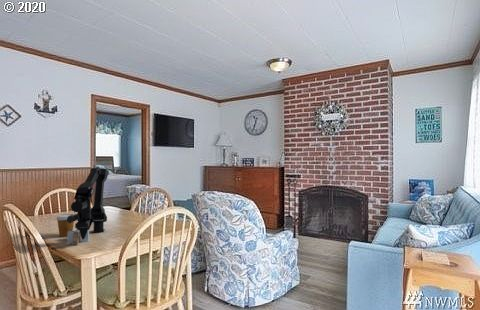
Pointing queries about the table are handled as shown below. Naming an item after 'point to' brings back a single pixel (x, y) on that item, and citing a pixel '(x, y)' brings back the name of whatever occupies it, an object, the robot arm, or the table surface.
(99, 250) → the table surface
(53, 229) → the table surface
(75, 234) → the notched wooden post
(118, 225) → the table surface
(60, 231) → the disposable coffee cup
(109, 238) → the table surface
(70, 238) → the notched blue slab
